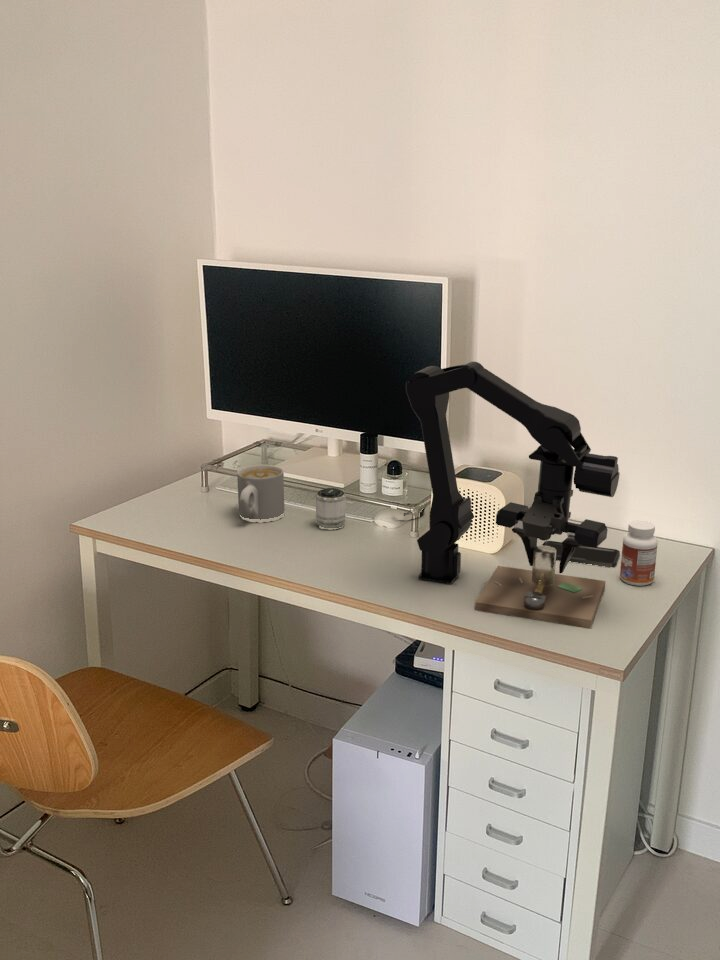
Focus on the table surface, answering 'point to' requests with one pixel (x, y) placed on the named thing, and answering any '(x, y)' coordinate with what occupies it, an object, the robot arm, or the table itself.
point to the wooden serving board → (564, 597)
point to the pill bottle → (639, 553)
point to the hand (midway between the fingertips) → (546, 569)
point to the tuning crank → (541, 575)
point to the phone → (588, 554)
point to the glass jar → (330, 508)
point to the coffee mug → (260, 491)
